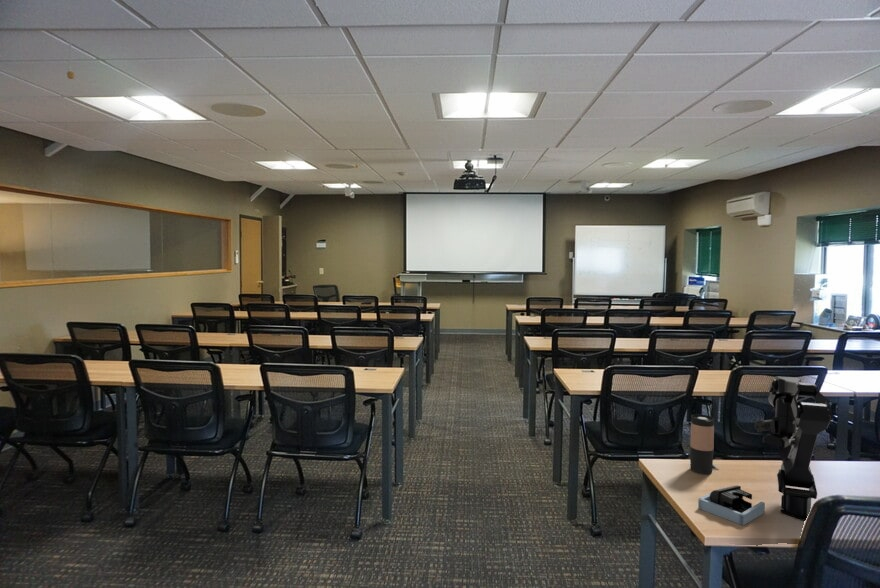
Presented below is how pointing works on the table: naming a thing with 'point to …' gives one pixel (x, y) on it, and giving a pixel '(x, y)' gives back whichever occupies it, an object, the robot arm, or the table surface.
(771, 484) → the table surface
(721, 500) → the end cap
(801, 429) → the robot arm
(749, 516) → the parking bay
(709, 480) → the table surface
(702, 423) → the travel mug
